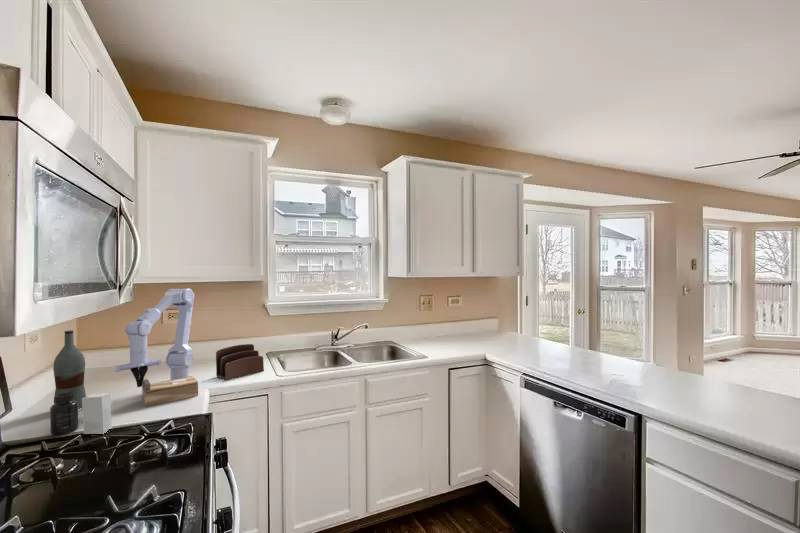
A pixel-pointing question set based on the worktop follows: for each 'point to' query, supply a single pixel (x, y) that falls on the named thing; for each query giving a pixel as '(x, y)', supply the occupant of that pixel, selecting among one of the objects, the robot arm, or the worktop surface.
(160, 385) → the mailer lid
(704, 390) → the worktop surface
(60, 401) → the supplement bottle
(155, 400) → the box
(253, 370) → the letter holder
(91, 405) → the skincare box
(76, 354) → the vodka
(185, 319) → the robot arm
